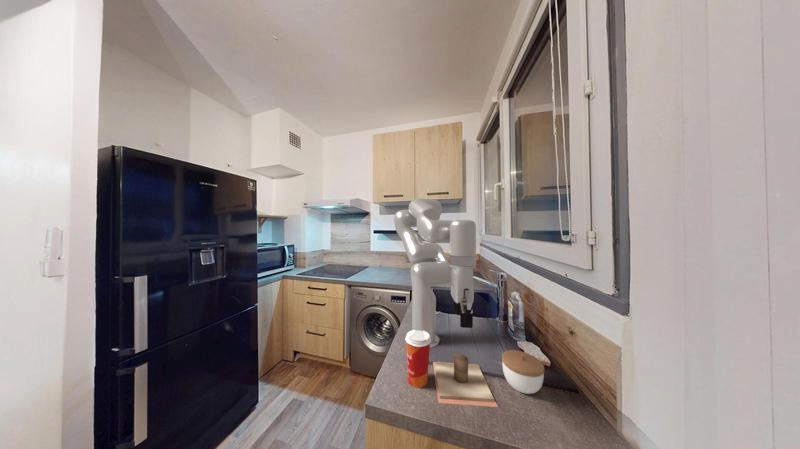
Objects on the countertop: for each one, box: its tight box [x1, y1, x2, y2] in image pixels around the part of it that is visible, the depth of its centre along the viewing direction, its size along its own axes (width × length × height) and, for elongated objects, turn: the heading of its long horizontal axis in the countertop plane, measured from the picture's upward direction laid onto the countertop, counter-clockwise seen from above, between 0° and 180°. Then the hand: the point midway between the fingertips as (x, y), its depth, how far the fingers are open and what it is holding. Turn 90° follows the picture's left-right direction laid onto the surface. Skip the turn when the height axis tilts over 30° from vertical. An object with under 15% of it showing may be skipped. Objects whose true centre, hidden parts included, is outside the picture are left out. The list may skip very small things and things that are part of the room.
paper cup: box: [404, 329, 431, 388], centre depth 64 cm, size 8×8×14 cm
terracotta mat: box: [432, 361, 499, 408], centre depth 64 cm, size 17×15×1 cm
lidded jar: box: [501, 349, 545, 395], centre depth 63 cm, size 11×11×9 cm
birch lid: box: [434, 353, 495, 402], centre depth 64 cm, size 14×14×7 cm
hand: (462, 319), depth 64 cm, fingers open, 9 cm apart
